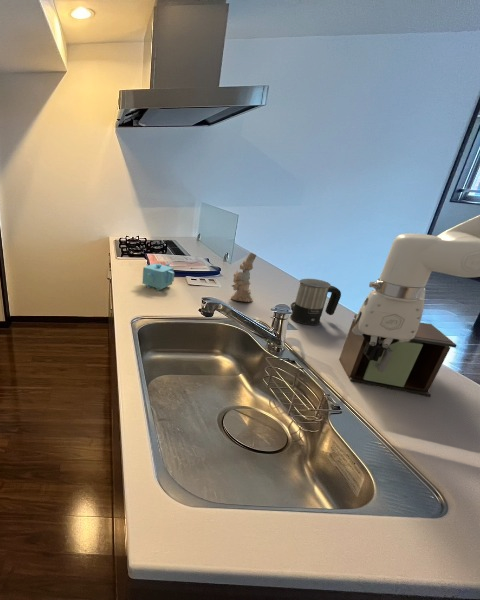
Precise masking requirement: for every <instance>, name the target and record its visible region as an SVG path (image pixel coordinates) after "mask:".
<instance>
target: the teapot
mask: <svg viewBox="0 0 480 600" xmlns="http://www.w3.org/2000/svg"><path fill="white" fill-rule="evenodd" d="M170 264H171V262H167V263H166V264H165V265H164V264H162V263H152V264H148V265H145V266H143V268H142V281H141V282H142V284H143V285H146V288H155V290H156V291H162V290H163V289H164V288H168V287H169V286H172V285H173V282H174V280H175V274H176V273H175V272H174V269H175V268H174V267H171V266H170Z"/></svg>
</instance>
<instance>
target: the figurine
mask: <svg viewBox="0 0 480 600" xmlns="http://www.w3.org/2000/svg"><path fill="white" fill-rule="evenodd" d="M256 257H257V254H255V253H253V252H249V254H248V255H247V257H246V258H245V259H244V260H243V261H242V263H240V264H239V269H240V270H242V272H241V271H239V270H237V271H236V272H235V273H234V274H233V280H232V282H233V284H232V285H231V287H232V289H233V291H234V293H233V294H232V295H231V296H230V299H231V300H233V301H235V302H236V301H237V302H245V303H251V302H254V299H253V297H252V296H251V289H250V285H251V284H252V283H251V282H250V280H251V272H250V271H252V270H253V269H254V265H253V263H254V262H255V259H256Z"/></svg>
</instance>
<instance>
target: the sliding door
mask: <svg viewBox="0 0 480 600" xmlns="http://www.w3.org/2000/svg"><path fill="white" fill-rule="evenodd" d="M379 338H380V337H379ZM422 346H423V344H422V343H418V342H411V341H409V342H396V343H394V344H391V345H389V347H387V348H385V349H384V351H383V354H382V356H381V357H379V359H378V361H374V360H370V362H369V365H368V367H367V370H366V372H365V375H364V377H363V379H364V380H368V381H373V382H378V383H384V384H389V385H394V386H399V387H404V385H405V383H406V380H407V378H408V376H409V374H410V372H411V370H412V368H413V366H414V363H415V361H416V359H417V357H418V355H419V353H420V351H421V348H422Z"/></svg>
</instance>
